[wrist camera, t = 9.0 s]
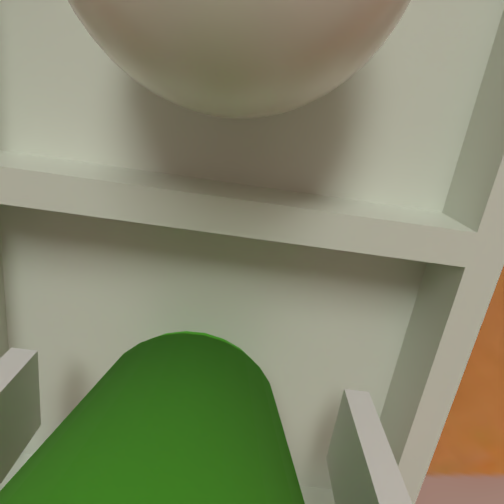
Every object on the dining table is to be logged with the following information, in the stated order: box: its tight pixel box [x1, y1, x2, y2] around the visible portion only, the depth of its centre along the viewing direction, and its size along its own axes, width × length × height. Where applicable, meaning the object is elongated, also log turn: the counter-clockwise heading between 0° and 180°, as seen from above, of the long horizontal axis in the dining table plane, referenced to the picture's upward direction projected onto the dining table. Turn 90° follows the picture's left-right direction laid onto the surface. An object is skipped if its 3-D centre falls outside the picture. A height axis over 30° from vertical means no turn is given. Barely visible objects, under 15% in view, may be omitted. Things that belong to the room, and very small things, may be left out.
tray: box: [0, 0, 504, 504], centre depth 12 cm, size 16×25×3 cm, turn 172°
